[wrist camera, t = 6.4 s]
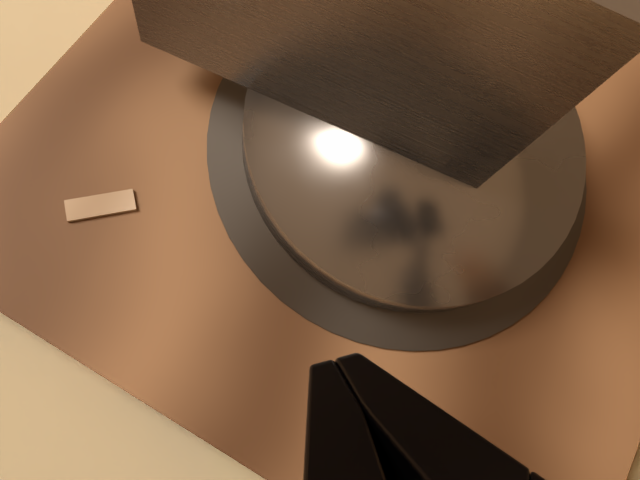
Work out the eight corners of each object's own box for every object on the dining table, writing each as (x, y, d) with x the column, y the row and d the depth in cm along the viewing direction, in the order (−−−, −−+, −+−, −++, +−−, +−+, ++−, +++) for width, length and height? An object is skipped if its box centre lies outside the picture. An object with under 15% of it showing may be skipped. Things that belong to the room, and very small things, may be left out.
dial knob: (592, 84, 19) (861, -146, 11) (516, 369, 16) (813, 337, 8) (231, -80, 18) (237, -448, 10) (78, 183, 15) (-81, -56, 7)
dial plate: (730, 111, 22) (768, 89, 20) (529, 640, 16) (562, 666, 14) (293, -161, 22) (298, -203, 21) (-80, 256, 16) (-113, 241, 14)
